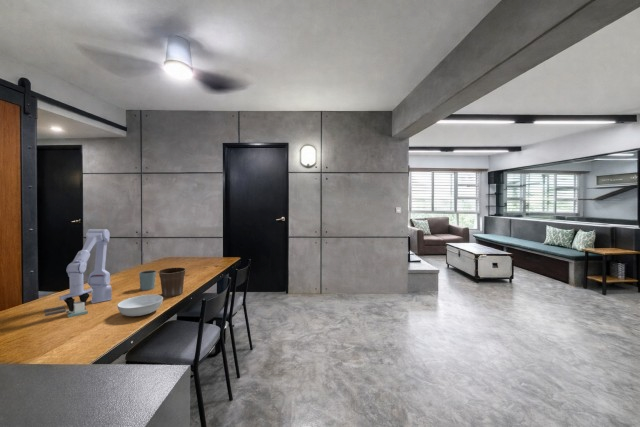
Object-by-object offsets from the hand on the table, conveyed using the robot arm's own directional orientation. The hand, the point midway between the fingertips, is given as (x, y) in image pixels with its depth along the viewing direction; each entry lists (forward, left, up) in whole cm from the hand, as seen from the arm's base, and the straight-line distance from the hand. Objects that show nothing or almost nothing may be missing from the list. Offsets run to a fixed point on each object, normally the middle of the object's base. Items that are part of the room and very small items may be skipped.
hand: (77, 309), depth 149 cm
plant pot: (-47, +2, -2) cm, 48 cm away
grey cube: (0, 0, -2) cm, 2 cm away
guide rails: (+4, -5, -2) cm, 7 cm away
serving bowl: (-24, +24, -2) cm, 34 cm away
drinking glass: (-40, -23, -2) cm, 46 cm away
